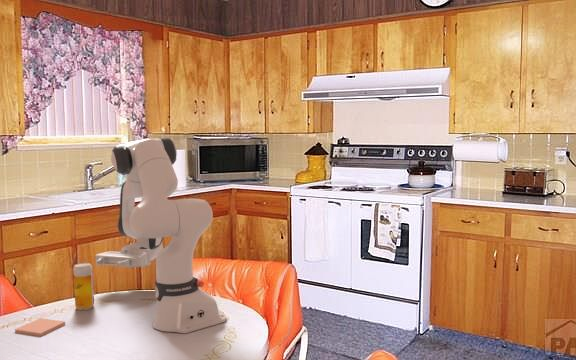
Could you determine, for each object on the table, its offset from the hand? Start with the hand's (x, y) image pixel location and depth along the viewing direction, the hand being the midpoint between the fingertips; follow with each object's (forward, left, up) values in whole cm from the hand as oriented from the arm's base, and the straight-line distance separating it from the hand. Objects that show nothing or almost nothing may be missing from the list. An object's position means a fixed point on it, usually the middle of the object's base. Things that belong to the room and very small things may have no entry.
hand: (107, 264), depth 196 cm
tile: (+21, +17, -12) cm, 29 cm away
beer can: (+10, +7, -13) cm, 17 cm away
